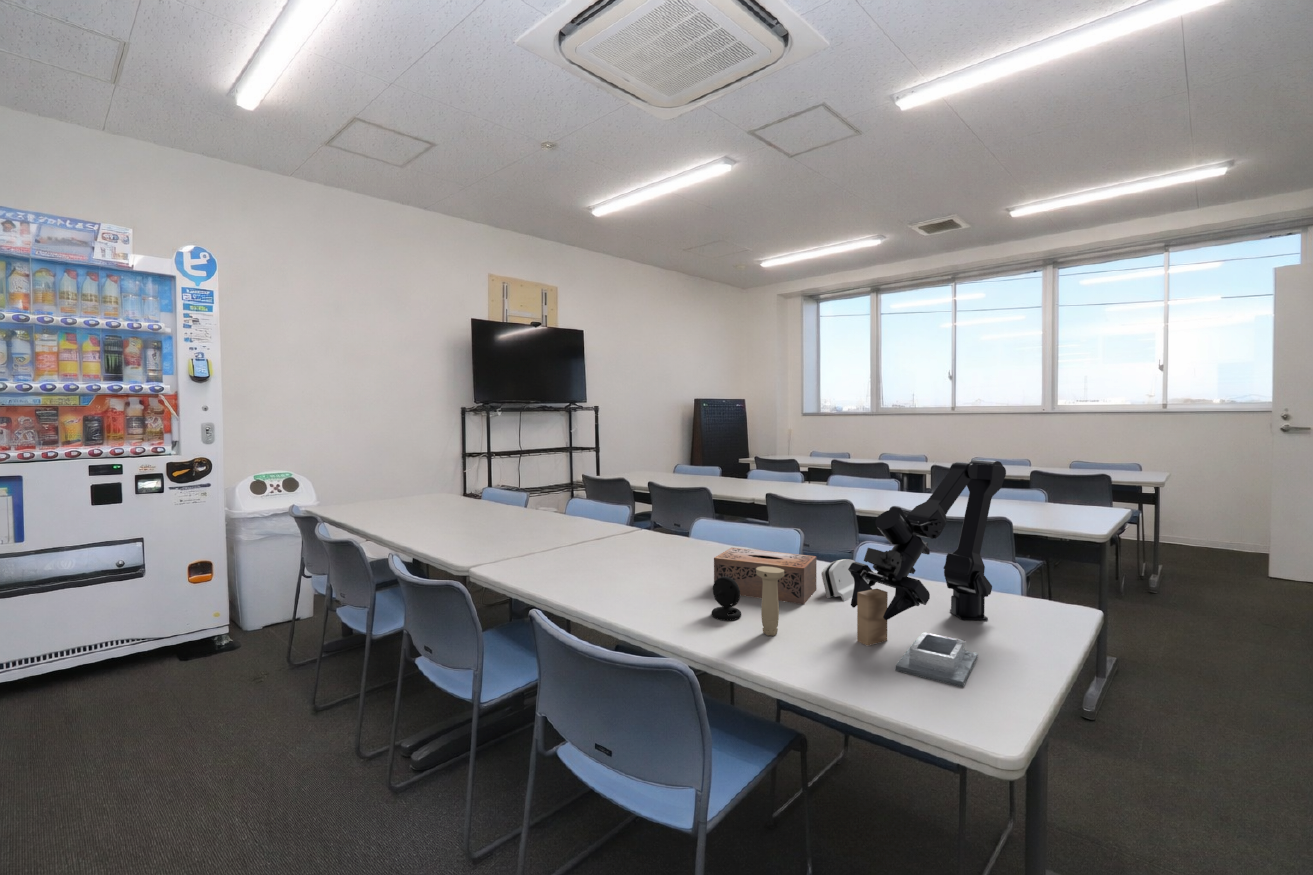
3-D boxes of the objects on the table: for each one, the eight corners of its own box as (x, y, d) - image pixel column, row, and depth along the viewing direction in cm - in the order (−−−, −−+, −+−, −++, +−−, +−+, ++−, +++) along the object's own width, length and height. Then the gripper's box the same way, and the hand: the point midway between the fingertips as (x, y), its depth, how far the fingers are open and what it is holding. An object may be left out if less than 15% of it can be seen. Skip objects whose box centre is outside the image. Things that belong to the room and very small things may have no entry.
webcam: (747, 615, 147) (747, 576, 147) (730, 623, 142) (730, 582, 141) (722, 608, 152) (722, 570, 152) (705, 616, 147) (704, 576, 147)
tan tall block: (876, 636, 133) (877, 588, 132) (887, 640, 130) (887, 591, 130) (857, 641, 130) (857, 592, 130) (867, 645, 127) (867, 595, 127)
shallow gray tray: (915, 644, 128) (915, 626, 128) (977, 657, 120) (977, 638, 120) (895, 670, 115) (895, 650, 115) (963, 687, 108) (963, 665, 108)
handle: (778, 640, 131) (778, 574, 130) (752, 633, 135) (752, 569, 134) (787, 633, 135) (787, 569, 134) (762, 627, 139) (761, 565, 138)
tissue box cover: (816, 590, 168) (816, 556, 167) (804, 605, 155) (804, 568, 155) (731, 579, 180) (731, 547, 180) (714, 592, 167) (713, 557, 167)
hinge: (843, 601, 157) (832, 564, 159) (828, 603, 160) (817, 567, 162) (869, 587, 170) (858, 553, 171) (854, 589, 173) (843, 556, 175)
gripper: (853, 527, 139) (818, 580, 135) (921, 542, 123) (883, 603, 118) (877, 556, 143) (843, 608, 138) (945, 575, 127) (910, 634, 122)
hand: (867, 612), depth 129 cm, fingers open, 9 cm apart
